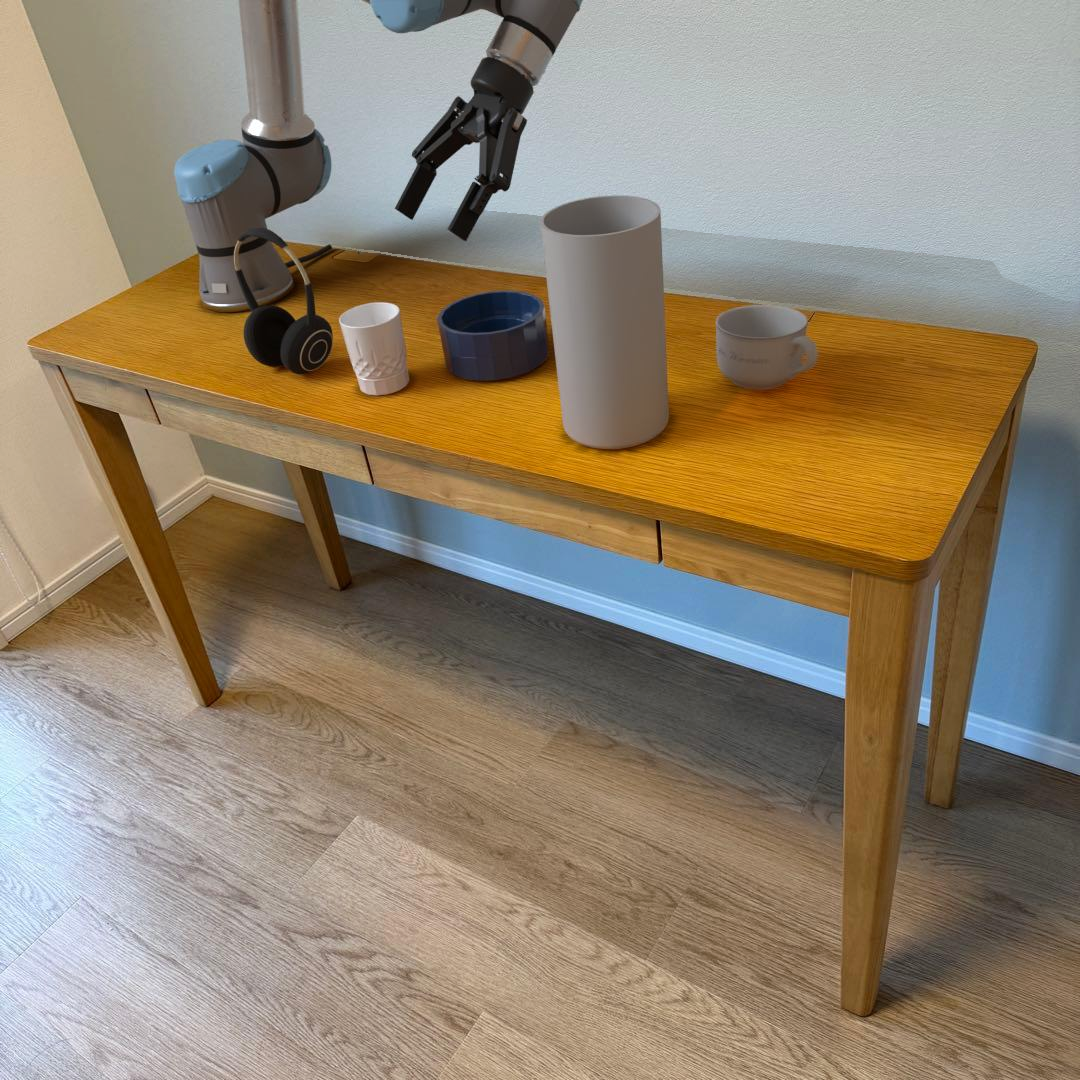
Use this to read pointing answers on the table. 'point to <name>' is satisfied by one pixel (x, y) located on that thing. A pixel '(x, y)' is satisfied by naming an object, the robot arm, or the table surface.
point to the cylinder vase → (608, 318)
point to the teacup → (763, 345)
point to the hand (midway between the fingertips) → (428, 224)
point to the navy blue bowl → (494, 335)
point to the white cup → (376, 347)
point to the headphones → (284, 323)
